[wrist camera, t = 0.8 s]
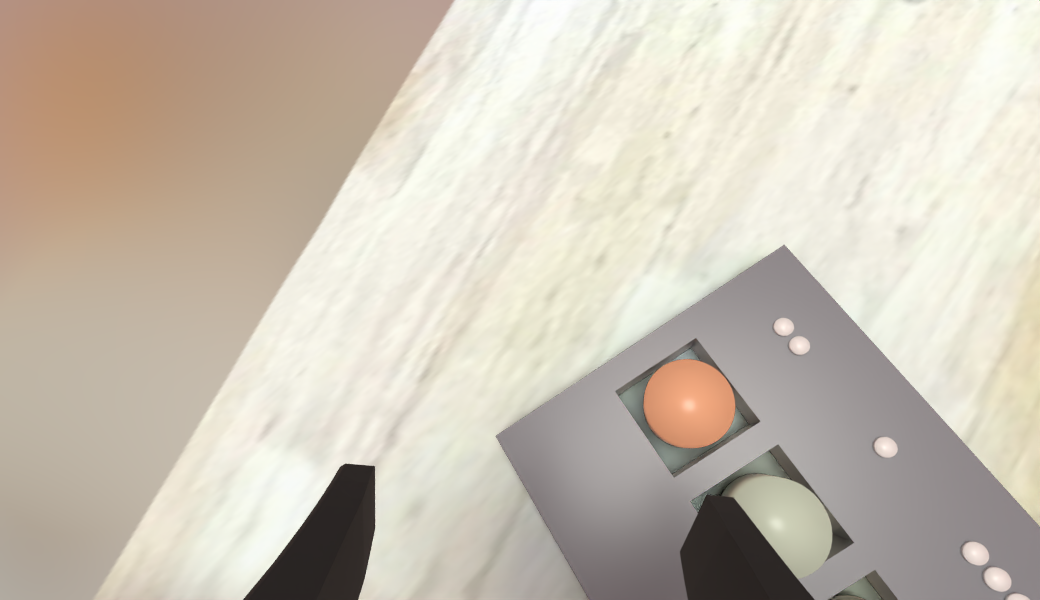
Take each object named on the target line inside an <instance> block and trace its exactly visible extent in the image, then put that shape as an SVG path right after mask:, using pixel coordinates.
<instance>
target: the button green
mask: <svg viewBox="0 0 1040 600" xmlns="http://www.w3.org/2000/svg"><path fill="white" fill-rule="evenodd" d="M721 496H725V497H734V498H735V500H736V501H737V502H738V504H739V505H740V506H741V507H742V509H743V510H744V511H745V512H746V514H747V515H748V516H749V518H750V519H751V520H752V521H753V523H754V524H755V525H756V527H757V528H758V529H759V530H760V532H761V533H762V534H763V536H764V537H765V538H766V540H767V541H768V542H769V543H770V545H771V546H772V547H773V548H774V550H775V551H776V552H777V554H778V555H779V556H780V557H781V559H782V560H783V561H784V562H785V564H786V565H787V566H788V567H789V569H790V570H791V571H792V572H793V574H794V575H795V576H796V577H797V579H799V578H803V577H806V576H808V575H810V574H812V573H814V572H815V571H816V570H818V569H819V568H820V567H821V566H822V565H823V563H824V562H825V560H826V559H827V557H828V555H829V552H830V549H831V545H832V526H831V522H830V519H829V516H828V514H827V512H826V510H825V508H824V506H823V505H822V503H821V502H820V500H819V499H818V498H817V497H816V496H815V495H814V494H813V493H812V492H811V491H810V490H808V489H807V488H806V487H804V486H802V485H801V484H799V483H797V482H795V481H792V480H789V479H786V478H781V477H776V476H771V475H766V474H757V473H755V474H748V475H744V476H741V477H739V478H737V479H735V480H734V481H733V482H731V483H730V484H729V485H728V486H727V487H726V489H725V490H724V492H723V493H722V495H721Z"/></svg>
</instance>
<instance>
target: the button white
mask: <svg viewBox="0 0 1040 600" xmlns="http://www.w3.org/2000/svg"><path fill="white" fill-rule="evenodd" d="M828 600H866V599H863V598H860V597H855V596H848V595H843V596H835V597H832V598H830V599H828Z"/></svg>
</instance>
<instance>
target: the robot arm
mask: <svg viewBox="0 0 1040 600" xmlns="http://www.w3.org/2000/svg"><path fill="white" fill-rule="evenodd" d="M374 531H375V466H366V465H354V464H344V465H343V466H341V467H340V468H339V470H338V471H337V473H336V475H335V477H334V478H333V480H332V481H331V483H330V485H329V486H328V488H327V489H326V491H325V492H324V494H323V496H322V497H321V499H320V500H319V502H318V503H317V505H316V506H315V507H314V509H313V510H312V512H311V513H310V515H309V516H308V517H307V519H306V520H305V522H304V523H303V524H302V526H301V527H300V529H299V530H298V531H297V533H296V534H295V535H294V537H293V538H292V539H291V541H290V542H289V543H288V545H287V546H286V547H285V549H284V550H283V551H282V552H281V554H280V555H279V556H278V558H277V559H276V560H275V562H274V563H273V564H272V565H271V567H270V568H269V569H268V570H267V571H266V573H265V574H264V575H263V576H262V578H261V579H260V580H259V581H258V582H257V584H256V585H255V586H254V587H253V588H252V590H251V591H250V592H249V593H248V594H247V596H246V597H245V598H244V599H243V600H358V598H359V595H360V592H361V588H362V585H363V582H364V579H365V574H366V569H367V565H368V560H369V555H370V551H371V546H372V541H373V536H374ZM680 557H681V564H682V570H683V576H684V582H685V587H686V592H687V598H688V600H815V599H814V598H813V597H812V596H811V595H810V593H809V592H808V591H807V590H806V588H805V587H804V586H803V585H802V584H801V582H800V581H799V580H798V579H797V577H796V576H795V575H794V574H793V572H792V571H791V570H790V569H789V567H788V566H787V565H786V564H785V562H784V561H783V560H782V559H781V557H780V556H779V555H778V554H777V552H776V551H775V550H774V548H773V547H772V546H771V545H770V543H769V542H768V541H767V540H766V538H765V537H764V536H763V534H762V533H761V532H760V530H759V529H758V528H757V527H756V525H755V524H754V523H753V521H752V520H751V519H750V518H749V516H748V515H747V514H746V512H745V511H744V510H743V509H742V507H741V506H740V505H739V504H738V502H737V501H736V500H735V498H734V497H725V496H714V495H706V498H705V500H704V502H703V504H702V506H701V508H700V510H699V512H698V514H697V516H696V518H695V521H694V523H693V525H692V527H691V529H690V531H689V533H688V535H687V537H686V539H685V542H684V544H683V546H682V548H681V550H680Z"/></svg>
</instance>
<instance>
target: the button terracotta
mask: <svg viewBox="0 0 1040 600" xmlns="http://www.w3.org/2000/svg"><path fill="white" fill-rule="evenodd" d="M643 410H644V416H645V419H646V421H647V424H648V426H649V427H650V429H651V430H652V432H653V433H654V434H655V435H656V436H657V437H658V438H659V439H661V440H662V441H664V442H665V443H667V444H669V445H672V446H675V447H680V448H700V447H704V446H708V445H710V444H712V443H714V442H716V441H718V440H719V439H720V438H721V437H722V436H723V435H724V434H725V433H726V432H727V431H728V429H729V428H730V426H731V424H732V422H733V419H734V415H735V398H734V394H733V391H732V389H731V387H730V385H729V383H728V381H727V380H726V378H725V377H724V376H723V375H722V374H721V373H720V372H719V371H718V370H716V369H715V368H714V367H712V366H710V365H708V364H706V363H704V362H701V361H697V360H691V359H683V360H676V361H673V362H670V363H668V364H666V365H664V366H662V367H661V368H660V369H658V370H657V371H656V372H655V373H654V374H653V376H652V377H651V378H650V380H649V382H648V384H647V387H646V390H645V394H644V403H643Z"/></svg>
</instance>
